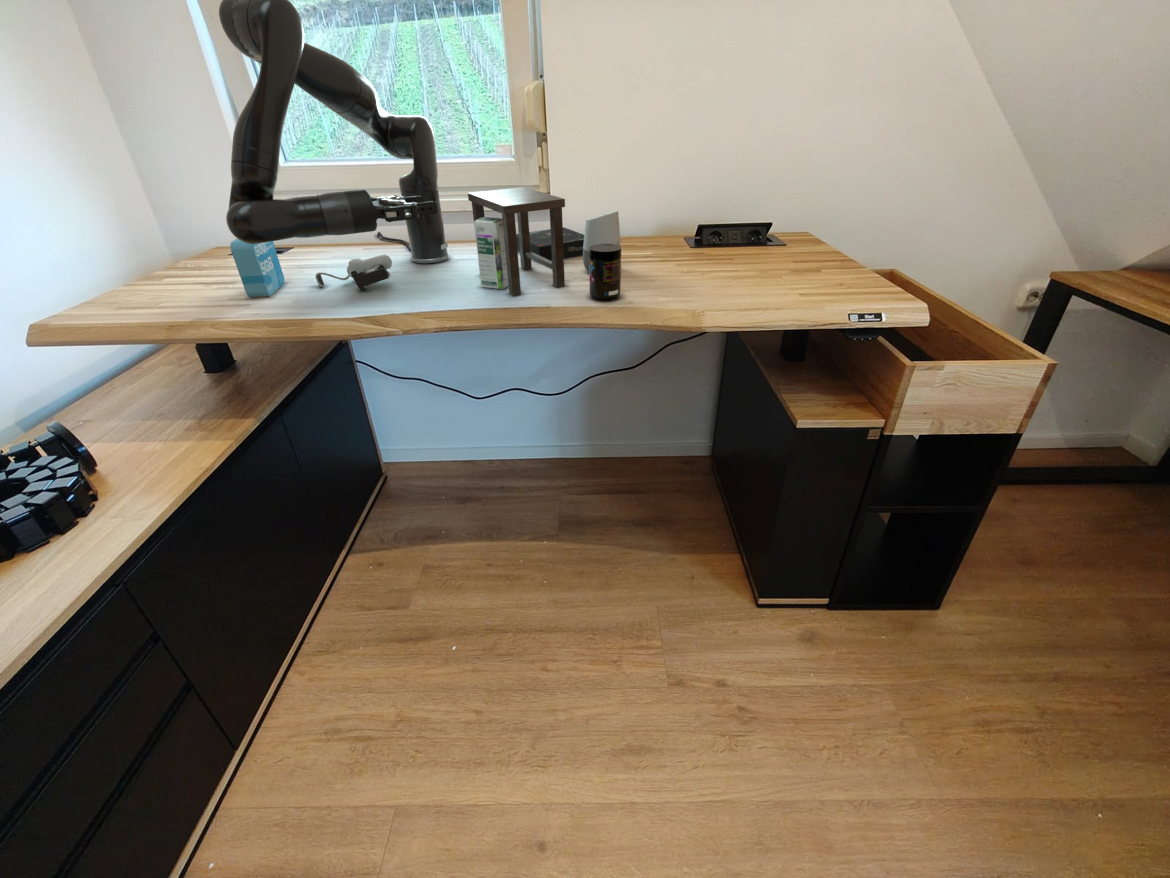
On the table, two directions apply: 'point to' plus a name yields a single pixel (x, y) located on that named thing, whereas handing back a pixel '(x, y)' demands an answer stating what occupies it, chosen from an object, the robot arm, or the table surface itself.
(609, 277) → the supplement container
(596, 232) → the smart speaker
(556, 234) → the side table
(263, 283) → the data package
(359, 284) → the clip-on lamp
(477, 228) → the syrup box
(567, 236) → the black flat box
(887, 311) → the table surface
